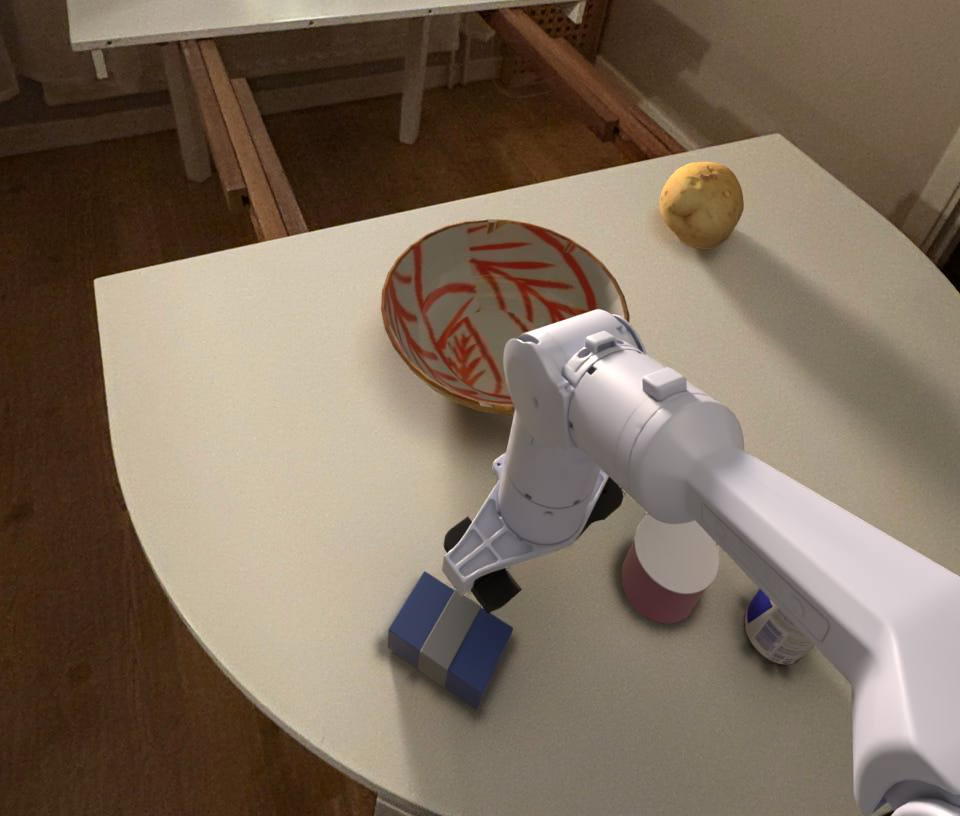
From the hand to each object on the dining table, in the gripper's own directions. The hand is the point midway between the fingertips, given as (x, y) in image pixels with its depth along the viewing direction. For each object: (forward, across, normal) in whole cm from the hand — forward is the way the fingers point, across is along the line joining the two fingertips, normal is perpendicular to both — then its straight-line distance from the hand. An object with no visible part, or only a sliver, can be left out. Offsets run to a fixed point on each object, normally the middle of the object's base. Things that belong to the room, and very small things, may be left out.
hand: (523, 565), depth 55 cm
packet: (+10, +5, -1) cm, 11 cm away
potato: (+10, -51, -21) cm, 56 cm away
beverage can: (+10, -17, +14) cm, 24 cm away
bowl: (+10, -17, -21) cm, 28 cm away
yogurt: (+10, -12, +6) cm, 16 cm away
